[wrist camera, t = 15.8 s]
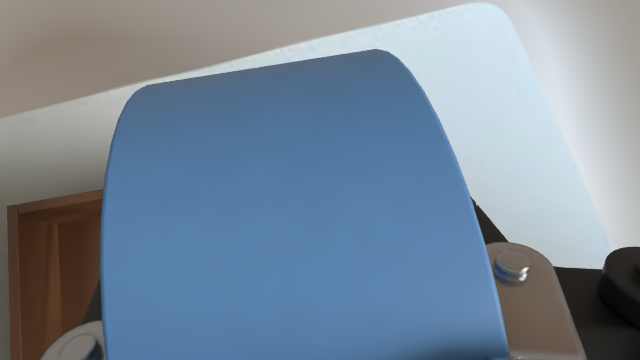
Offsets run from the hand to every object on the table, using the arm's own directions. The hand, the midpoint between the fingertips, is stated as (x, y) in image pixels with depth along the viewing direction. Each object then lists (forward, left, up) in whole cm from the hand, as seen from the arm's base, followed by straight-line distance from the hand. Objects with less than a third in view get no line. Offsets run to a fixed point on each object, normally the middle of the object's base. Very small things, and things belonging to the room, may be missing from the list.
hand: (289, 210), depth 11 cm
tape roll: (0, -2, -5) cm, 5 cm away
